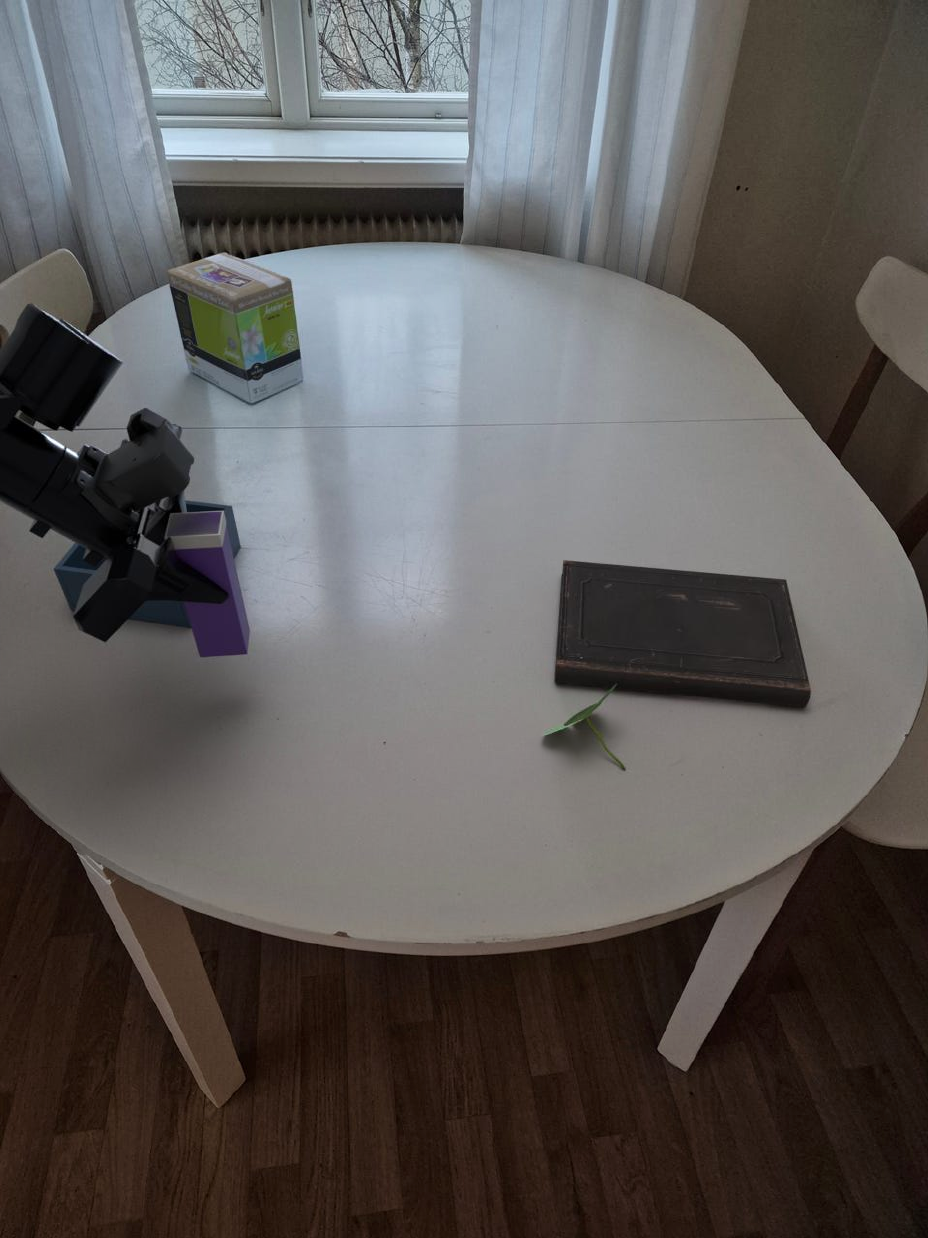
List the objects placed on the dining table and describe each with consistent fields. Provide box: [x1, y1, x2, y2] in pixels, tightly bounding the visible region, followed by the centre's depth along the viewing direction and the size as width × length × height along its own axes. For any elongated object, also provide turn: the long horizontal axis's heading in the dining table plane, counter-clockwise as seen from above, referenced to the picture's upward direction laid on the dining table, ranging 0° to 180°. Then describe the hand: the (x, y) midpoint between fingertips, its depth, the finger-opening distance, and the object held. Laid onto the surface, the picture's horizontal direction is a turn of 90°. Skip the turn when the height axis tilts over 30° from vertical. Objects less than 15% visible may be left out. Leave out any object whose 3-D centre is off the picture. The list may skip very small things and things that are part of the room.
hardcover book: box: [553, 559, 812, 708], centre depth 85 cm, size 16×23×2 cm
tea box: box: [166, 251, 304, 404], centre depth 119 cm, size 15×10×15 cm
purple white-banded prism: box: [165, 511, 251, 658], centre depth 70 cm, size 4×3×13 cm
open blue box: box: [53, 499, 242, 628], centre depth 90 cm, size 13×13×6 cm
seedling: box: [541, 684, 627, 771], centre depth 74 cm, size 7×8×7 cm
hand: (227, 585), depth 70 cm, fingers closed on purple white-banded prism, 3 cm apart
